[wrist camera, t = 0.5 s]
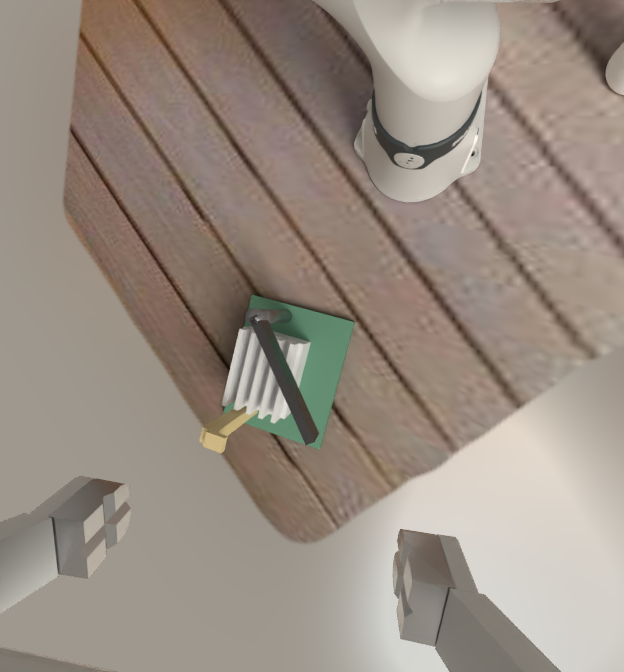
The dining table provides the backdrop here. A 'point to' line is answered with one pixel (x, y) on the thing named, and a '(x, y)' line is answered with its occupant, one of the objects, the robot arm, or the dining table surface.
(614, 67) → the water bottle
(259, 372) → the board
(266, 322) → the retention bar
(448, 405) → the dining table surface
